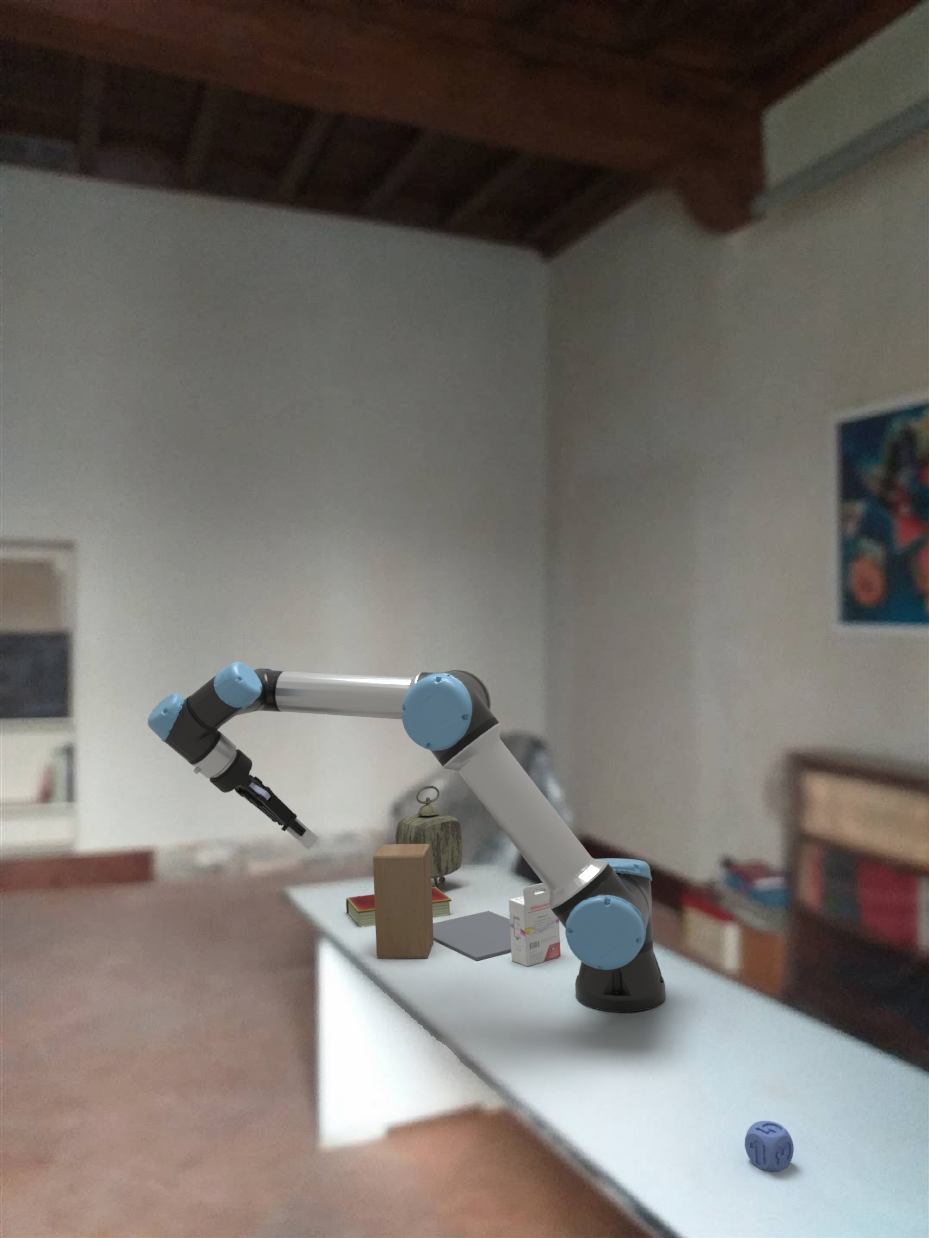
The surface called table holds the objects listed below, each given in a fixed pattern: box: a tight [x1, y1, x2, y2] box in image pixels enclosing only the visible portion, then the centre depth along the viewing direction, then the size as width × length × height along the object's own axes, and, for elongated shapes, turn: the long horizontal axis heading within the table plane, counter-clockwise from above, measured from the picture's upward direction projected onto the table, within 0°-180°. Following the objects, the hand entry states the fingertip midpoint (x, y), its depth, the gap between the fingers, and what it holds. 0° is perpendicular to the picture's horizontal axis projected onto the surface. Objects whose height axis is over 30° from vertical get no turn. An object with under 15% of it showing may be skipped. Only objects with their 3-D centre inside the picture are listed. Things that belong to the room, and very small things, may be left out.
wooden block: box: [372, 843, 435, 959], centre depth 200 cm, size 10×10×20 cm
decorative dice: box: [744, 1120, 795, 1172], centre depth 119 cm, size 4×4×4 cm
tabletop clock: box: [394, 785, 463, 890], centre depth 245 cm, size 14×9×25 cm, turn 130°
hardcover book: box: [345, 886, 453, 928], centre depth 226 cm, size 12×21×4 cm, turn 109°
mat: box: [433, 910, 511, 962], centre depth 208 cm, size 24×19×1 cm
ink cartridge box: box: [508, 882, 561, 967], centre depth 193 cm, size 9×5×15 cm, turn 126°
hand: (312, 842), depth 190 cm, fingers closed
